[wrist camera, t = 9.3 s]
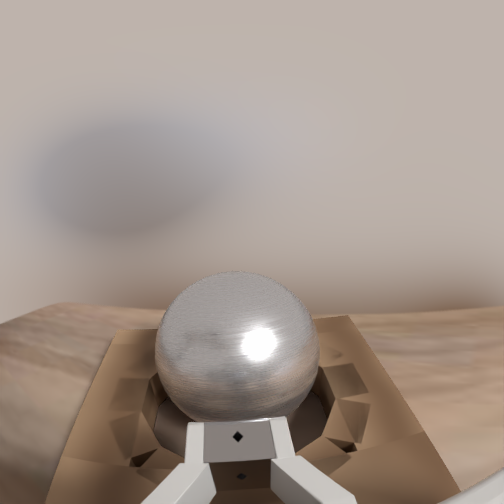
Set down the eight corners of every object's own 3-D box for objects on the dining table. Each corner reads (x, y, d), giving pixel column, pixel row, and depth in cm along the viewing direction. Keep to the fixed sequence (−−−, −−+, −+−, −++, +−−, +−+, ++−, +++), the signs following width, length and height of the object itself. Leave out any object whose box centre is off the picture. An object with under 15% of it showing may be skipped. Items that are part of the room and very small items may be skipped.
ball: (162, 271, 21) (181, 391, 21) (117, 294, 12) (159, 468, 12) (295, 257, 21) (303, 379, 22) (339, 272, 13) (341, 450, 13)
